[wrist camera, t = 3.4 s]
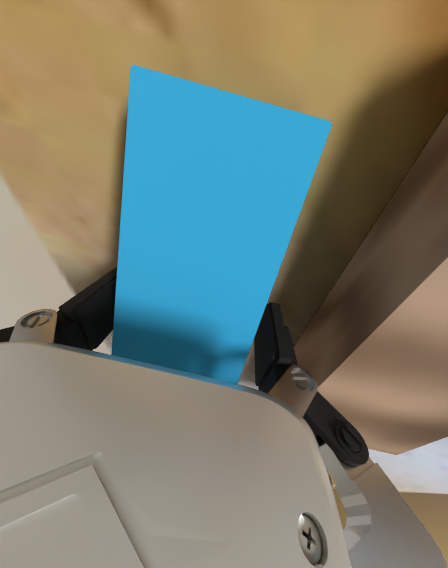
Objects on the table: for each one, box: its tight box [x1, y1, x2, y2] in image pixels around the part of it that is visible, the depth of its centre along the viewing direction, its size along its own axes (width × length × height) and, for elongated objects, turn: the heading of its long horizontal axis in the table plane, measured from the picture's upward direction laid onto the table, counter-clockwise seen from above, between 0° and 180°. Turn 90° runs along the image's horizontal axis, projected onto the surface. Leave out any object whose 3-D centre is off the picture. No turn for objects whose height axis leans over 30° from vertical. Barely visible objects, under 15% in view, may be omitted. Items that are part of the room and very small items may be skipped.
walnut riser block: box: [294, 112, 448, 455], centre depth 10 cm, size 22×10×4 cm, turn 170°
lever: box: [112, 65, 332, 384], centre depth 12 cm, size 7×7×18 cm
